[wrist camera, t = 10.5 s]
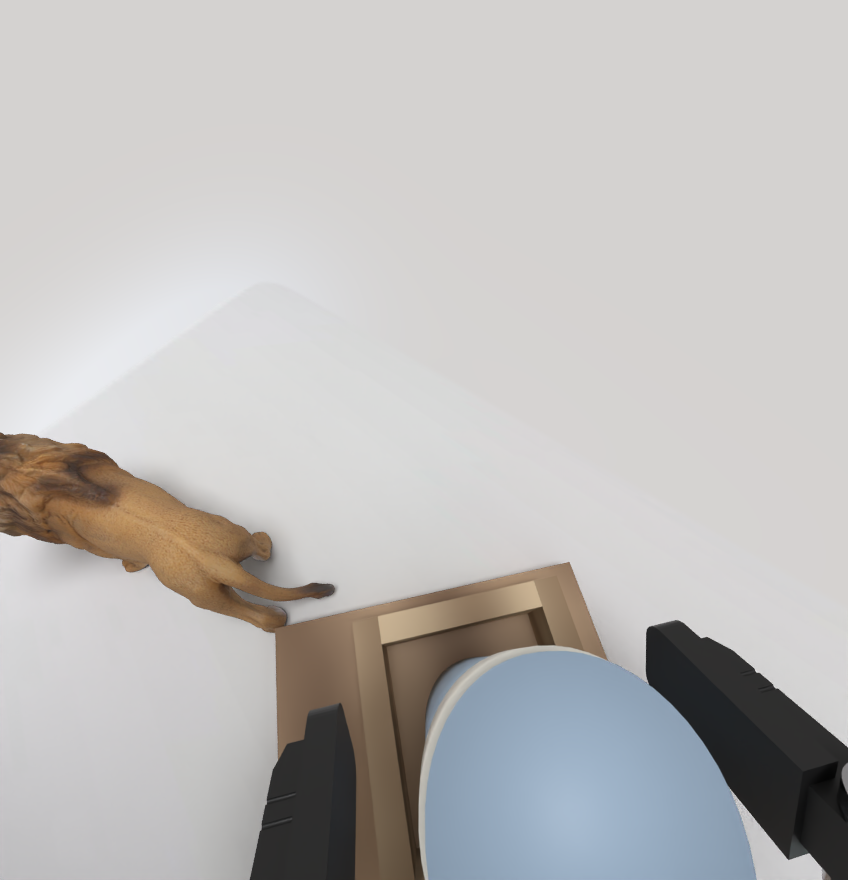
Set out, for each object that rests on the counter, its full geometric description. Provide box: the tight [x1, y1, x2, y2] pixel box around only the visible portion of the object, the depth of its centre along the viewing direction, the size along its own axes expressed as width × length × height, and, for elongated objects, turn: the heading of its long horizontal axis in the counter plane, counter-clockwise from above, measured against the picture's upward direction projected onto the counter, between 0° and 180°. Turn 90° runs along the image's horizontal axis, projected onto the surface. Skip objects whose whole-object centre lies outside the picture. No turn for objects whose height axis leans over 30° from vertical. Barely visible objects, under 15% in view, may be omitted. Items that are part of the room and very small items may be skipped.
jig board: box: [275, 562, 608, 880], centre depth 15 cm, size 14×12×4 cm
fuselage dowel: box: [419, 645, 756, 880], centre depth 11 cm, size 5×5×12 cm
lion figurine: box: [0, 433, 335, 633], centre depth 16 cm, size 15×5×9 cm, turn 78°
